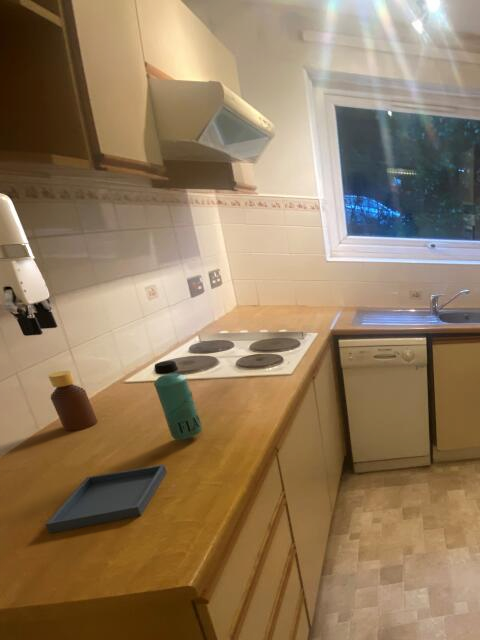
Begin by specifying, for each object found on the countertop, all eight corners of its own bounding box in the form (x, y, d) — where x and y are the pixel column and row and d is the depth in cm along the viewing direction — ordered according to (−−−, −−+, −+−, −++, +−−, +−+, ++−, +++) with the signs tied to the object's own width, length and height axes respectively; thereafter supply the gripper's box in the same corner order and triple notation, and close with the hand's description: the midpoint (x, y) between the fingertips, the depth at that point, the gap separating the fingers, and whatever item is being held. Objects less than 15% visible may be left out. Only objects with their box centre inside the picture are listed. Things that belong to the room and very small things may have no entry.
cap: (48, 388, 106) (44, 377, 105) (57, 382, 110) (53, 371, 108) (70, 385, 108) (65, 375, 106) (78, 380, 111) (73, 370, 110)
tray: (49, 533, 76) (44, 524, 75) (90, 485, 89) (86, 477, 88) (141, 515, 81) (137, 506, 80) (167, 472, 94) (164, 464, 93)
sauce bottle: (59, 432, 109) (36, 381, 104) (72, 421, 115) (50, 372, 109) (91, 428, 111) (70, 378, 106) (102, 418, 117) (82, 369, 112)
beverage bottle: (181, 447, 103) (155, 369, 95) (167, 440, 106) (140, 364, 98) (210, 436, 108) (187, 360, 101) (196, 429, 111) (173, 356, 104)
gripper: (10, 249, 102) (41, 324, 109) (-44, 257, 88) (-4, 343, 95) (51, 248, 105) (79, 321, 112) (5, 256, 90) (41, 339, 97)
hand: (41, 330), depth 103 cm, fingers open, 5 cm apart
